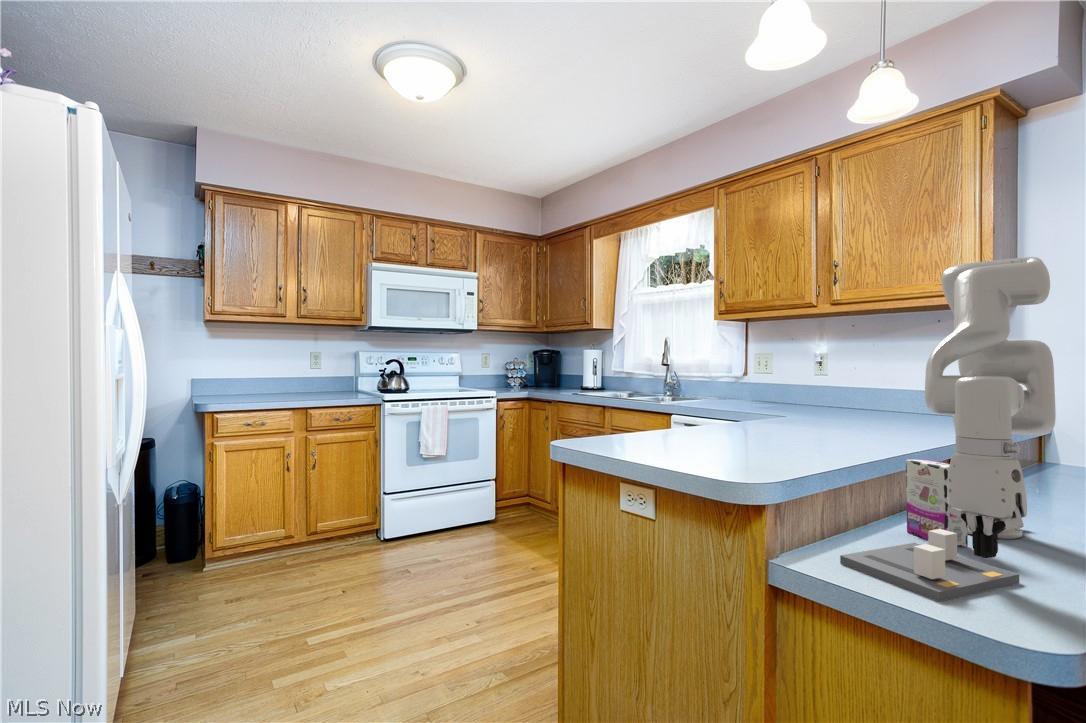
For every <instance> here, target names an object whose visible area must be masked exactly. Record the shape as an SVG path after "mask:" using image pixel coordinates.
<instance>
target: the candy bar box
mask: <svg viewBox="0 0 1086 723" xmlns="http://www.w3.org/2000/svg"><path fill="white" fill-rule="evenodd" d="M949 466H950V463H946V462H945V463H944V462H939V461H937V460H936V461H935V460H930V459H922V458H920V459H919V458H918V459H915V458H914V459H905V474H906V475H905V479H906V480H905V481H906V482H905V485H906V486H905V487H906V489H905V491H906V532H907V534H908V533H909V534H911V535H913V536H915V537H918V538H921V539H924V540H926V541H928V531H930V530H936V529H942V530H946V531H950V532H954V533H957V548H968V545H969V544H968V543H969V540H968V537H969V536H968V533H967V524H966V523H965V522H964V520H963V519H962V518H959V517H957V516H955V515H953V514H951V513H950V512H949V510H950V505H949V504H948V498H947V484H948V473H949Z"/></svg>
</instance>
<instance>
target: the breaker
mask: <svg viewBox="0 0 1086 723" xmlns="http://www.w3.org/2000/svg"><path fill="white" fill-rule="evenodd" d="M914 573H916V574H919V575H921V576H924V577H927V578H930V579H936V578H941V577H945V549H942V548H938V547H935V546H932V545H929V544H927V543H924V544H920V545H918V546H914Z"/></svg>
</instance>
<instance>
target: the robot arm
mask: <svg viewBox="0 0 1086 723" xmlns="http://www.w3.org/2000/svg"><path fill="white" fill-rule="evenodd" d="M1050 277H1051V276H1050V274H1049V270H1048V268H1047V265H1046V264H1045V263H1044V262H1043V260H1042V259H1041V258H1039V257H1037V256H1035V257H1034V256H1027V257H1016V258H1006V259H996V260H986V261H984V260H983V261H975V262H969V263H968V262H967V263H963V264H957V265H954V266H951V267H948V268H947V269H945V270H944V271H943V273H942V276H941V281H940V282H941V288H942V292H943V296H944V298H945V300H946V302H947V304H948V307H949V308H950V310H951V311H952V312H951V313H952V314H953V331H952V332H951V333H950V334H949V335H947V336H946V337H945V338H944V339H943V340H941V341H940V342H939V343H938V344H937V345H936V346H935V348H933V350H932V352H930V355H929V357H928V359H927V362H926V367H925V381H924V382H925V383H924V400H925V404H926V406H927V408H928V410H930V411H931V412H932V413H934V414H937V415H941V416H952V422H953V426H954V432H955V453H952V455H951V458H950V463H949V464H950V466H949V473H948V484H947V498H948V504H949V505H950V510H949V512H950V513H951V514H953V515H955V516H957V517H959V518H962V519H963V520H964V522H965V523H966V524H967V535H972V538H971V539H972V540H971V541H972V544H971V545H972V548H973V555H974V556H976V557H980V558H982V559H990V558H995V557H997V554H998V552H999V539H1001V540H1003V539H1004V540H1005V539H1007V540H1008V539H1009V540H1010V539H1013V540H1014V539H1019V538H1021V537H1023V529H1022V528H1023V527H1024V525H1025V524H1024V521H1023V518H1025V517H1026V516H1027V515H1028V502H1027V501H1028V499H1027V493H1026V492H1027V491H1026V485H1025V478H1024V474H1023V470H1022V466H1021V464H1020V461H1019V459H1018V458H1013V456H1014V454H1020V453H1021V450H1022V447H1021V446H1020V444H1015V443H1014V440H1013V435H1033V436H1035V435H1039V436H1040V435H1047V434H1049V433H1051V432H1052V431H1053V430H1054V428H1055V424H1056V413H1057V412H1056V394H1055V392H1056V391H1055V390H1056V389H1055V388H1056V387H1055V366H1054V358H1053V353H1052V351H1051V349H1050V347H1049V346H1048V345H1047V344H1046V343H1045V342H1043V341H1041V340H1034V339H1033V340H1032V339H1022V340H1021V339H1020V340H1019V339H1017V340H1008V339H1007V338H1008V337H1009V335H1010V333H1011V325H1010V307H1015V306H1016V307H1017V306H1032V305H1033V306H1034V305H1040V304H1043V303H1044V302H1045V301H1046V300H1047V299H1048V297H1049V294H1050V291H1051V279H1050ZM957 361H958V362H957ZM955 362H957V363H958V372H959V374H960V375H951V374H950V375H944V371H945V370H946V368H947V367H948V366H950V365H951V364H953V363H955ZM1023 386H1024V387H1025V388H1026V389H1024V387H1023Z"/></svg>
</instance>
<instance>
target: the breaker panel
mask: <svg viewBox="0 0 1086 723" xmlns="http://www.w3.org/2000/svg"><path fill="white" fill-rule="evenodd" d="M918 545H921V544H920V543H917V542H911V543H910V542H909V543H904V544H899V545H893V546H887V547H881V548H875V549H869V550H863V551H858V552H852V553H845V554H841V555H840V556H839V557H840V558H839V560H840V564H841V565H844V566H846V567H849V568H851V569H854V570H856V571H859V572H861V573H865V574H867V575H869V576H872V577H875V578H877V579H879V580H882V581H885V582H888V583H890V584H893V585H896V586H897V587H900V588H903V589H904V590H905V589H906V590H908V591H910V592H914V593H916V594H918V595H921V596H923V597H925V598H929V599H931V600H934V601H936V602H945V601H947V600H953V599H958V598H961V597H966V596H970V595H973V594H979V593H982V592H988V591H991V590H996V589H999V588H1004V587H1008V586H1013V585H1017V584H1020V574H1019V573H1017V572H1012V571H1009V570H1007V569H1002V568H1000V567H996V566H993V565H990V564H986V563H984V562H981V561H976V560H973V559H970V558H967V557H963V556H960V555H957V556H958V558H956V559H951V560H945V577H941V578H936V579H930V578H927V577H924V576H921V575H919V574H916V573H914V546H918Z"/></svg>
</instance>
